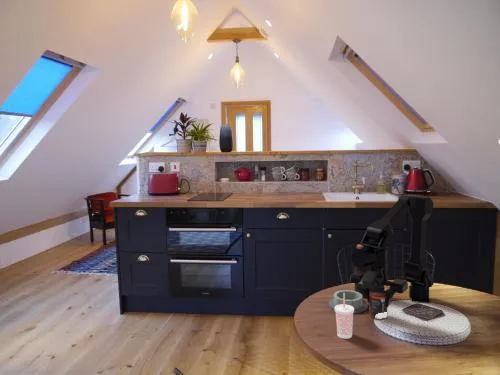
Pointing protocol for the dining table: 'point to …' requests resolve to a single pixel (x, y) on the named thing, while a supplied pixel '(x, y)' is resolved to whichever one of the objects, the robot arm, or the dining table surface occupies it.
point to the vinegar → (363, 269)
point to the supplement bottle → (377, 301)
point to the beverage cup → (344, 319)
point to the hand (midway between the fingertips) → (378, 305)
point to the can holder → (349, 300)
